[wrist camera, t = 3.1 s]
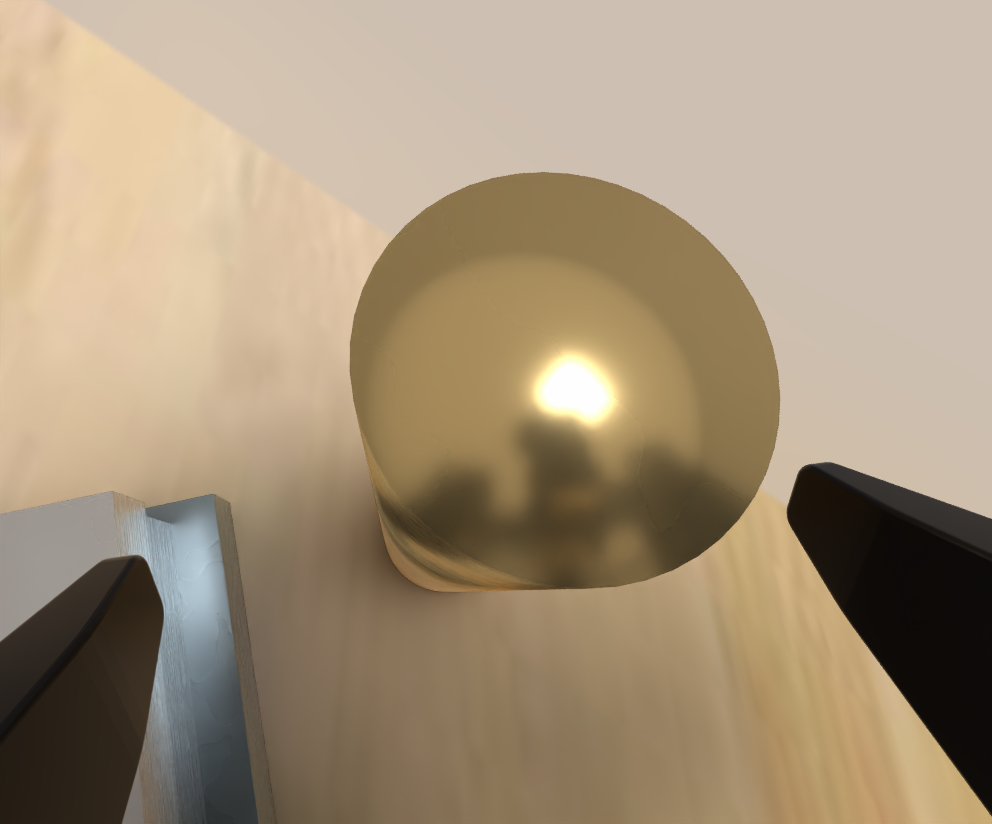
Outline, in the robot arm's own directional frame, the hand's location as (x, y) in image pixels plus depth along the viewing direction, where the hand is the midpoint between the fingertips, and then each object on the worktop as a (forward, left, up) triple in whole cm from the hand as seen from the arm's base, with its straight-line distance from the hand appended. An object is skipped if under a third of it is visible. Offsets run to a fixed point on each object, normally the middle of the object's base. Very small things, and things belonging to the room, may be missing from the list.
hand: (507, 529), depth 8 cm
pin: (+1, 0, -9) cm, 9 cm away
